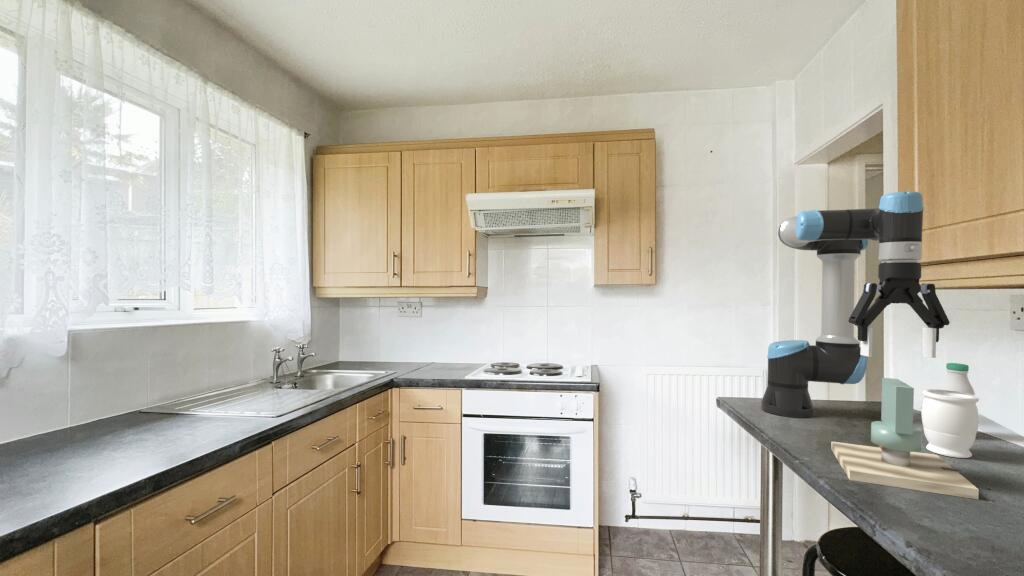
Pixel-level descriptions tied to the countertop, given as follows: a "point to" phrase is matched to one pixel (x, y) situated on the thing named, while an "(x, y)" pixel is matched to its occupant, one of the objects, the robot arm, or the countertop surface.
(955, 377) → the milk bottle
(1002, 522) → the countertop surface
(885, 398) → the mint bar with ball
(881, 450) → the base
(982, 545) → the countertop surface
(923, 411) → the jar
